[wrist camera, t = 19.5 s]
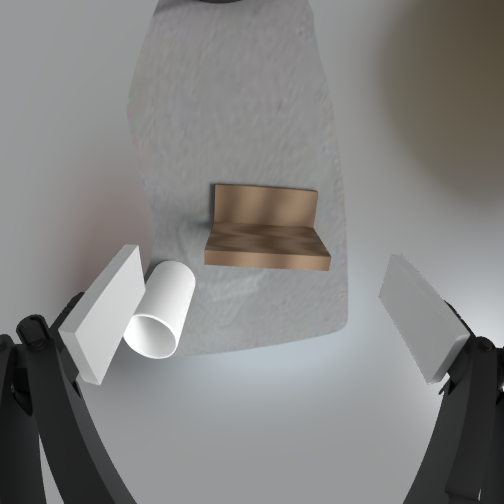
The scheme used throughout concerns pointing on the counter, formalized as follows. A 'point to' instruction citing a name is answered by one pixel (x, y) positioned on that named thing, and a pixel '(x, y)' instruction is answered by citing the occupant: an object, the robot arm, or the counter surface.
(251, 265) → the label board
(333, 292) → the counter surface
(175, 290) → the cup
